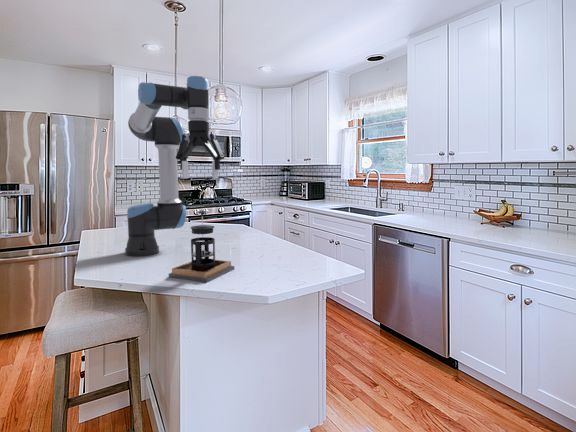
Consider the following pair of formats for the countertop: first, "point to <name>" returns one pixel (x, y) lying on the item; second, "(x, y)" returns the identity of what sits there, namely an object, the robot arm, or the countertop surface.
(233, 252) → the countertop surface
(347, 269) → the countertop surface
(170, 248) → the countertop surface
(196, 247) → the french press
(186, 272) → the rectangular wooden frame
